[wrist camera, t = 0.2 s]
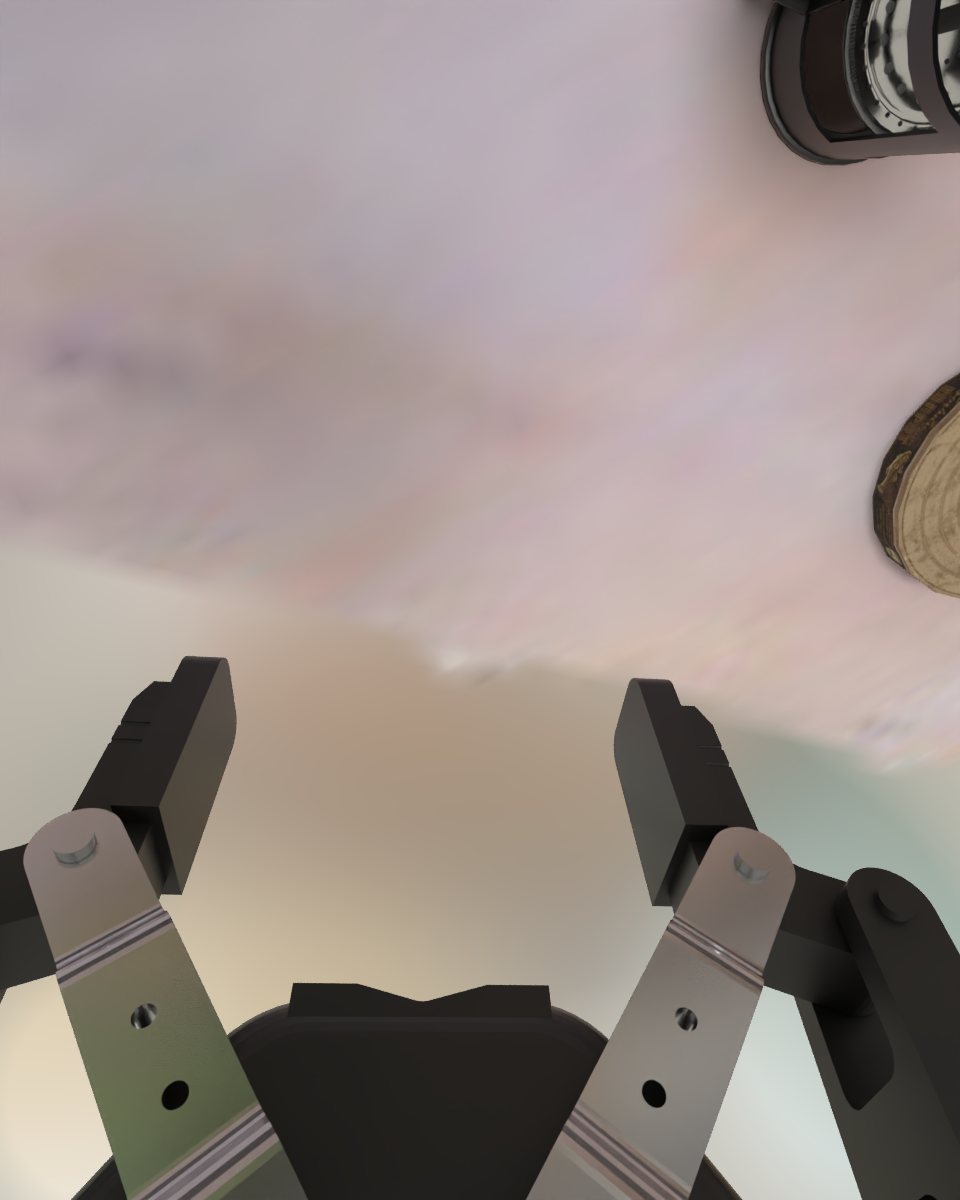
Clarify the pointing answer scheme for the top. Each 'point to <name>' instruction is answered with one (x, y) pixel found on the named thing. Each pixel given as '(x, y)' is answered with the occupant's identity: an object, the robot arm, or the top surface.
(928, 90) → the french press
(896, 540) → the wood slice
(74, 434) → the top surface
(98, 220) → the top surface
